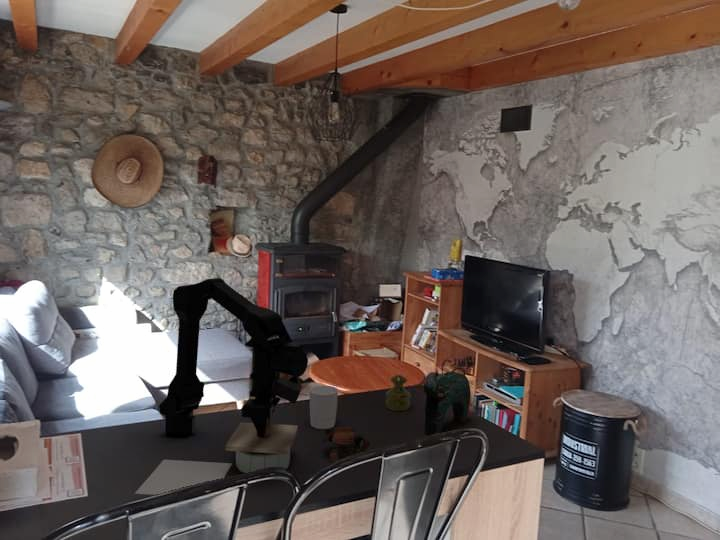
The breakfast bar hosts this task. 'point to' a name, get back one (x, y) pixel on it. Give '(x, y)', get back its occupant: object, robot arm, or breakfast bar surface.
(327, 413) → the white cup
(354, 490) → the breakfast bar surface
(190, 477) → the mat
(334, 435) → the brown piece
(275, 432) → the lid
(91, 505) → the breakfast bar surface
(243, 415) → the robot arm
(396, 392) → the olive green bottle-shaped piece
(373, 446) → the breakfast bar surface
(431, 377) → the green elephant figurine
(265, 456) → the bowl
